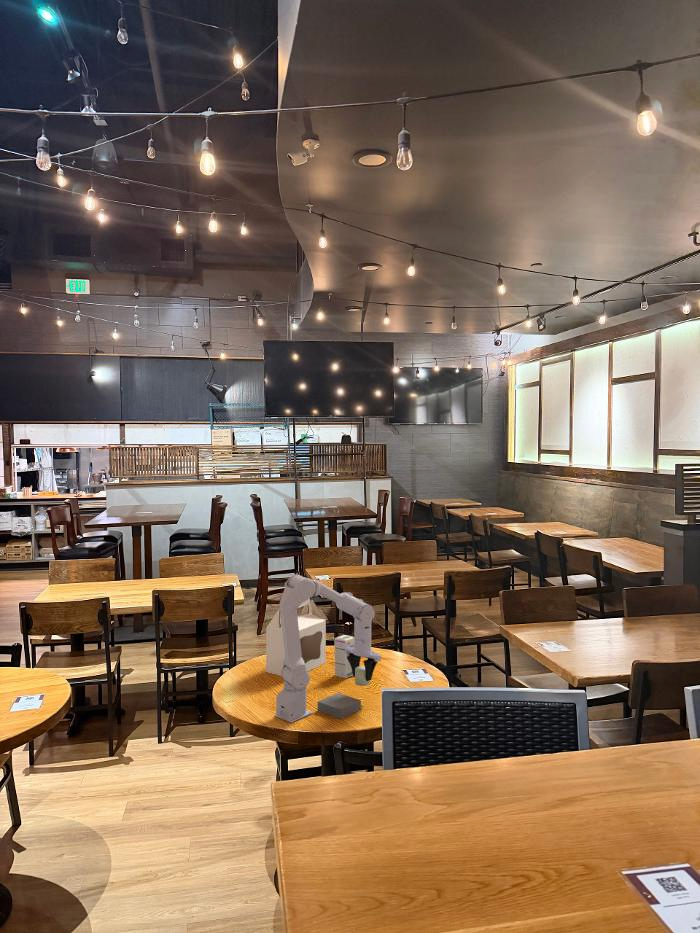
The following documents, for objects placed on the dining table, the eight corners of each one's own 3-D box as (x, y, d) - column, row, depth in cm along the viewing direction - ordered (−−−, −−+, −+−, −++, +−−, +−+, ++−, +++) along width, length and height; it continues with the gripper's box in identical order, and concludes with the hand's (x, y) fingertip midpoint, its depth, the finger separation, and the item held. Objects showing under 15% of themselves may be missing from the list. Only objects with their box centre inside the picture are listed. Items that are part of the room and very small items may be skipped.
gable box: (299, 657, 255) (300, 589, 255) (326, 662, 248) (326, 593, 248) (265, 672, 236) (265, 600, 236) (292, 679, 229) (293, 604, 229)
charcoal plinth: (340, 719, 194) (340, 709, 194) (317, 710, 200) (317, 701, 200) (360, 709, 202) (360, 700, 201) (338, 701, 208) (338, 692, 208)
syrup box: (346, 679, 230) (346, 640, 230) (333, 675, 233) (334, 637, 233) (355, 674, 234) (355, 636, 234) (343, 671, 238) (343, 634, 238)
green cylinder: (363, 687, 205) (363, 672, 205) (351, 683, 209) (352, 668, 208) (372, 683, 209) (372, 668, 209) (361, 679, 212) (361, 665, 212)
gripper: (386, 639, 207) (386, 680, 207) (354, 631, 216) (353, 670, 217) (373, 644, 202) (373, 685, 202) (340, 636, 211) (340, 675, 211)
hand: (362, 678), depth 209 cm, fingers closed on green cylinder, 5 cm apart
